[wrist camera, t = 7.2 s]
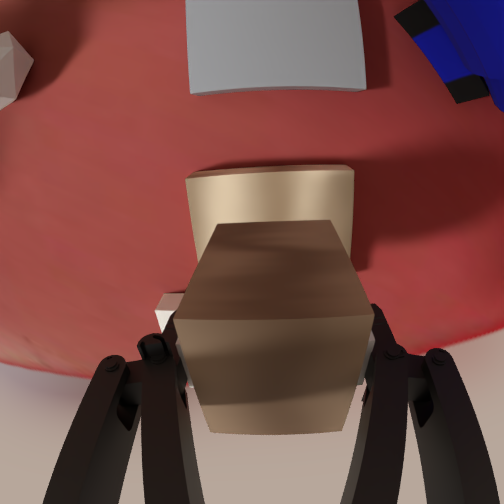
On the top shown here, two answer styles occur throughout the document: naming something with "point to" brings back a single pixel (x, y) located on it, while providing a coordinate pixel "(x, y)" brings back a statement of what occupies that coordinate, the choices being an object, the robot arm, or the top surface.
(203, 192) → the oak slab
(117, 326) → the top surface
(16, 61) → the die
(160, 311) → the white brick
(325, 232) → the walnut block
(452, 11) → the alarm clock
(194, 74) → the grey slab
